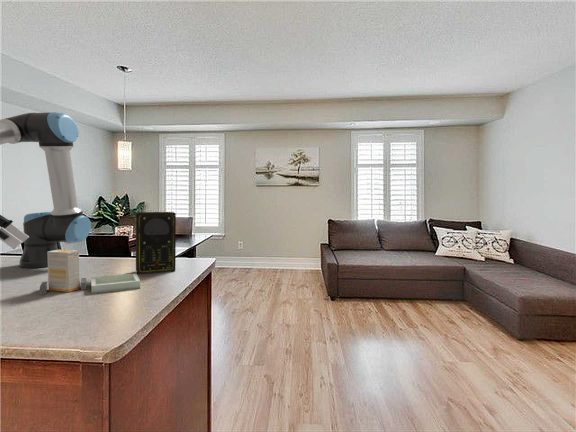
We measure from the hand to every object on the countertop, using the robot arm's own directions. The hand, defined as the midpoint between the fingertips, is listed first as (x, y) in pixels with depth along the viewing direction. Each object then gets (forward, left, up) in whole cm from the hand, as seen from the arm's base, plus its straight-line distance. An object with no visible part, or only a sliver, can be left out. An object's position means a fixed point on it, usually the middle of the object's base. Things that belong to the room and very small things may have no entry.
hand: (22, 242), depth 104 cm
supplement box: (0, +11, -16) cm, 20 cm away
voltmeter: (-15, +42, -16) cm, 47 cm away
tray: (+3, +26, -16) cm, 31 cm away
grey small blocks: (0, +11, -16) cm, 19 cm away
